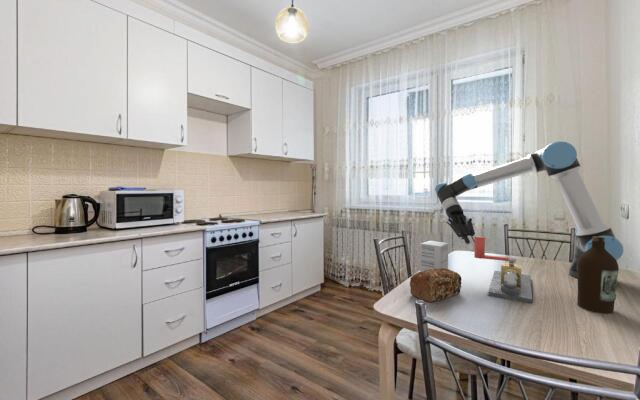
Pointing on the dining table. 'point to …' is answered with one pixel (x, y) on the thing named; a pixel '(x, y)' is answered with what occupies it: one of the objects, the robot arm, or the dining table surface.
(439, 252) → the supplement box
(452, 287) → the bread
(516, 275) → the valve pipe
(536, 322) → the dining table surface
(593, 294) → the olive oil
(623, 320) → the dining table surface
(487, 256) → the lever
